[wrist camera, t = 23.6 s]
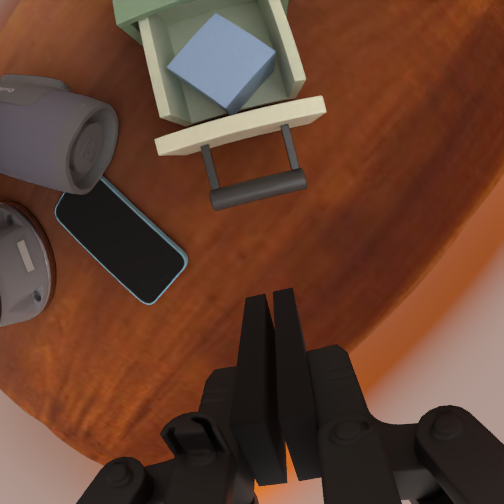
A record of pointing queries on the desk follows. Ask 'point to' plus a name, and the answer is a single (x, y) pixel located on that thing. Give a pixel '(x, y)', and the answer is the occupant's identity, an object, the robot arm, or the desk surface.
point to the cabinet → (147, 13)
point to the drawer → (201, 109)
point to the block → (224, 64)
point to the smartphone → (122, 240)
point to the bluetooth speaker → (54, 134)
